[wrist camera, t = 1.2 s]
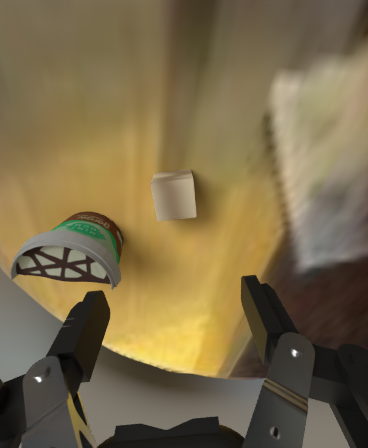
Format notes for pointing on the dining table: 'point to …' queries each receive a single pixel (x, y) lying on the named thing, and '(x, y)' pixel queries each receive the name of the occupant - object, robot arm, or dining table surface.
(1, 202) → the dining table surface
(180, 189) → the beige cube
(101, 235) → the food container
